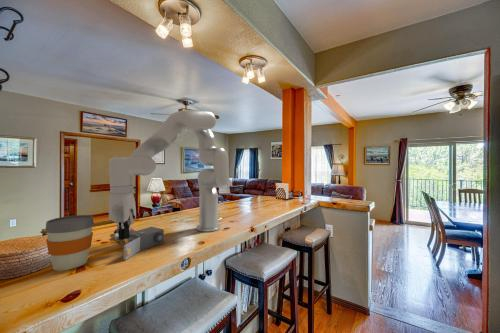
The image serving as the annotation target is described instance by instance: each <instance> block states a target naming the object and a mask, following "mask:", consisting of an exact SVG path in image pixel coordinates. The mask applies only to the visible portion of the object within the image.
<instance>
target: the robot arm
mask: <svg viewBox="0 0 500 333" xmlns="http://www.w3.org/2000/svg"><path fill="white" fill-rule="evenodd" d="M216 124H217V118H216V116H215V114H214V113H213V112H211V111H210V110H195V109H182V110H178V111H175V112H172V113H171V114H170V115H169V116H168V117H167V118H166V119H165V120H164V122H163V123H162V124H161V125H160V126H159V127H158V128H157V129H156V131H155V132H154V133H153V134H152V135H151V136H149V137H148V138H147V139H146V140H144V141H143V142H142V143H140V144H139V145H138V146H137V147H136V149H134V150H133V152H132V153H131V154H130V155H129V156H128V157H127V156H123V157H122V156H120V157H119V156H117V157H115V156H114V157H111V158H109V160H108V168H109V173H108V174H109V189H110V190H109V191H110V194H109V198H108V200H109V201H108V219H109V220H110V221H112V222H114V223H116V229H117V228H118V233H119V239H120V240H124V239H125V240H128V239H127V238H129V237H130V235H129V227H130V228H131V225H133V224H134V223H135V220H136V218H137V210H136V209H137V208H136V200H135V196H134V195H135V194H134V176H148V175H152V174H153V173H154V172H155V171H156V168H157V164H156V161H155V160H154V159H153V157H154V156H157V154H159V153H161V152H164V151H166V150H167V149H169V148H172V146H173V145H174V143H175V142H176V140H178V138H179V136H181V134H182V133H183V131H186V130H187V131H188V130H190V131H192V133H194V134H195V136H196V138H197V141H198V142H197V143H198V154H199V155H198V156H199V161H200V164H201V165H203V166H206V167H209V168H204V169H201V170H200V171H199V172H198V175H197V182H198V189H199V190H198V191H199V199H198V201H199V206H198V207H199V208H198V209H199V214H198V215H199V216H198V217H199V218H198V219H199V220H198V221H199V223H198V225H196V227H195V229H196V230H197V231H199V232H205V233H206V232H216V231H218V230H220V229H221V227H222V226H221V225H220V224H219V223H220V222H222V221H223V218H222V217H219V213H218V210H219V206H218V204H219V195H218V194H219V193H218V190H217V188H219V189H220V188H225V187H227V185H228V183H229V180H230V167H229V166H230V165H229V156H228V152H227V151H226V150H225V148H223V147H220V146H216V139H215V138H216V137H215V135H214V132H213V131H212V130H211V129H213V128H215V126H216ZM211 167H213V168H211ZM218 217H219V218H218ZM125 240H124V241H125Z"/></svg>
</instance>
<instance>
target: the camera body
mask: <svg viewBox="0 0 500 333" xmlns="http://www.w3.org/2000/svg"><path fill="white" fill-rule="evenodd" d="M164 231H165V230H164V228H159V227H155V226H154V227H153V226H149V227H146V228H141V229H139V230H135V231H134V232H131V233H129V235H130V237H129V238H128V239H127V244H128V243H129V242H131V241H133V240H135V239H137V238H138V237H140V251H139V252H141V251H143V250H146V249H149V248H151V247H154V246H157V245H160V244H162V243H164V242H165V241H164V236H165V235H164V234H165V233H164Z"/></svg>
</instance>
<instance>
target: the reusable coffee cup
mask: <svg viewBox="0 0 500 333" xmlns="http://www.w3.org/2000/svg"><path fill="white" fill-rule="evenodd" d="M94 224H95V222H94V216H92V215H88V214H78V215H77V214H76V215H68V216H61V217H56V218H52V219H49V220H47V221H46V223H45V230H44V232H45V233H46V237H47V239H46V240H45V241H46V246H47V253H48V255H49V256H50V259H51V266H52V269H53V270H54V271H66V270H71V269H76V268H78V267H81V266H84V265H85V264H86V263H87V262H88V258H89V250H90V248H91V247H92V241H93V235H94V232H93V226H94Z"/></svg>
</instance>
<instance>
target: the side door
mask: <svg viewBox="0 0 500 333" xmlns="http://www.w3.org/2000/svg"><path fill="white" fill-rule="evenodd" d="M139 252H141V251H140V237H138V238H137V239H135V240H133V241H131V242H129V243H128V242H127V243H125V244H124V245H123V260H124V261H127V260H129V259H130V258H131V257H132V256H134V255H135V254H137V253H139Z"/></svg>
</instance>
